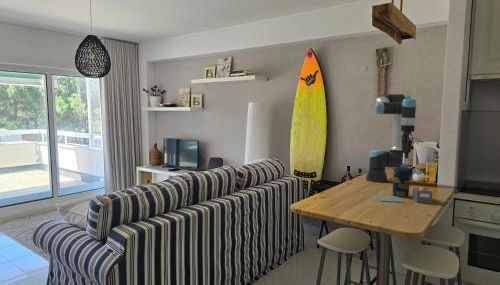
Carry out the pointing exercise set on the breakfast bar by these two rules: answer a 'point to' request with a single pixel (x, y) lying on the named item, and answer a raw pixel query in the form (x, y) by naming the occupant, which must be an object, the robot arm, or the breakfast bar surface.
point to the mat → (389, 199)
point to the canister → (401, 181)
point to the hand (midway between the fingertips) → (405, 163)
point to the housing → (422, 195)
